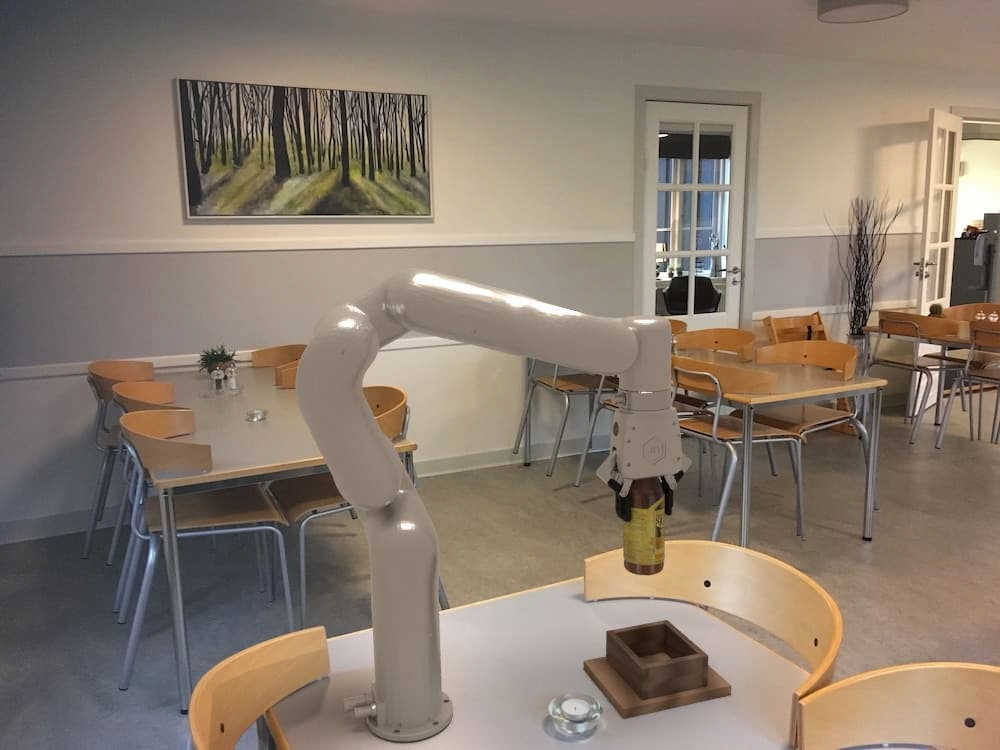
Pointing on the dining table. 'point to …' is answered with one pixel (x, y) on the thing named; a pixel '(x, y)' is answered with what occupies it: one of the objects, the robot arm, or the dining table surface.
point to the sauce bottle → (645, 528)
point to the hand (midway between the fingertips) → (644, 514)
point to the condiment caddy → (653, 670)
